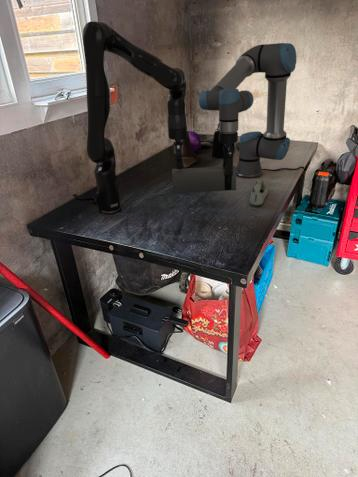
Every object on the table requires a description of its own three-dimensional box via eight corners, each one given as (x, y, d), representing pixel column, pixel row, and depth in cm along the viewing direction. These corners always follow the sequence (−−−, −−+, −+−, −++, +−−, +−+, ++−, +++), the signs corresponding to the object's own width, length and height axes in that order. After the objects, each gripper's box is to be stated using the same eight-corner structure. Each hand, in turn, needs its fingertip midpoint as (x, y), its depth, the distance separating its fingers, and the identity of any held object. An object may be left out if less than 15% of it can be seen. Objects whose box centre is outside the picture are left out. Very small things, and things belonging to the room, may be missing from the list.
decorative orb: (204, 151, 235) (204, 129, 228) (194, 156, 225) (193, 134, 217) (186, 149, 243) (186, 128, 235) (175, 154, 232) (174, 132, 224)
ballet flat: (269, 188, 169) (270, 173, 165) (265, 208, 149) (266, 191, 145) (252, 187, 171) (253, 172, 167) (246, 206, 151) (247, 190, 147)
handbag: (223, 159, 216) (223, 119, 204) (210, 157, 220) (210, 119, 208) (235, 151, 231) (236, 113, 218) (223, 150, 235) (224, 113, 223)
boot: (199, 157, 223) (198, 126, 213) (193, 168, 203) (192, 135, 193) (186, 157, 225) (185, 126, 215) (179, 168, 205) (177, 135, 195)
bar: (234, 185, 144) (234, 165, 139) (235, 190, 139) (236, 169, 135) (173, 188, 145) (172, 169, 140) (173, 193, 140) (172, 173, 136)
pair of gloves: (199, 150, 238) (199, 142, 236) (185, 142, 259) (184, 136, 256) (235, 144, 248) (235, 136, 245) (218, 137, 269) (218, 130, 266)
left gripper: (168, 122, 135) (171, 161, 143) (167, 129, 123) (170, 171, 131) (186, 121, 135) (188, 160, 143) (187, 128, 122) (189, 170, 130)
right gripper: (216, 127, 138) (216, 180, 149) (221, 137, 122) (220, 195, 134) (234, 126, 138) (233, 179, 149) (241, 136, 122) (239, 194, 134)
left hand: (179, 165), depth 137 cm, fingers open, 8 cm apart
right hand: (227, 187), depth 141 cm, fingers closed on bar, 5 cm apart
